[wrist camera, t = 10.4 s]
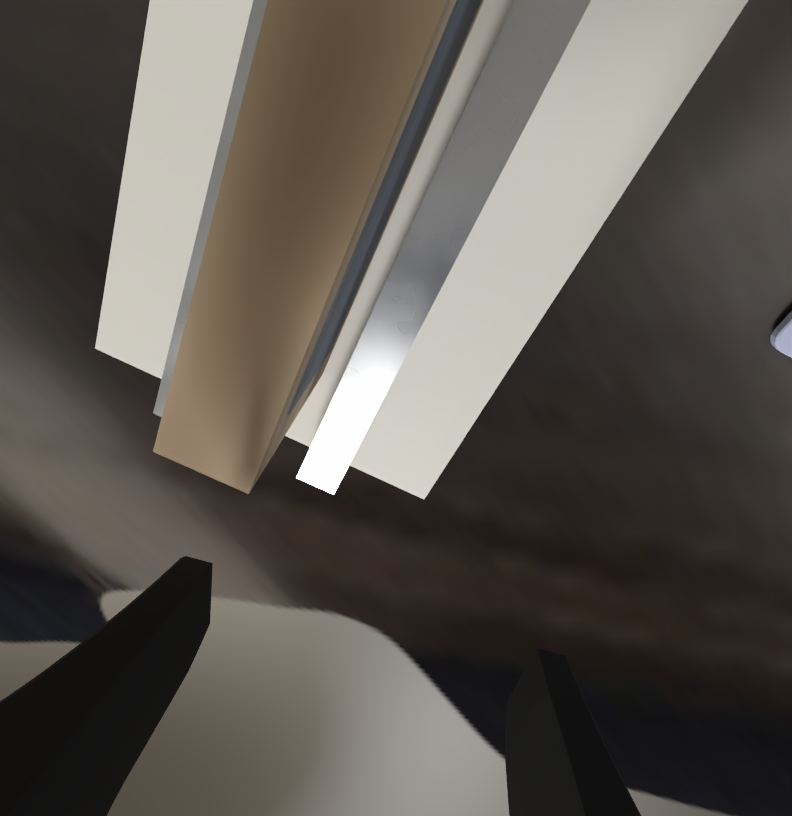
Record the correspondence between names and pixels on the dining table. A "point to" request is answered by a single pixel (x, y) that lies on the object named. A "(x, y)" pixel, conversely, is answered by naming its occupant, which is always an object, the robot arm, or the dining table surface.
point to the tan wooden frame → (301, 215)
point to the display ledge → (411, 208)
